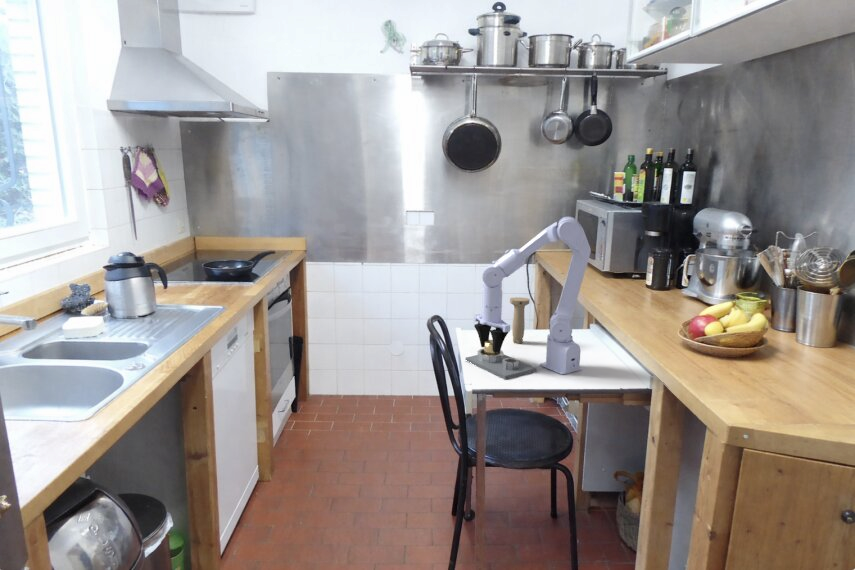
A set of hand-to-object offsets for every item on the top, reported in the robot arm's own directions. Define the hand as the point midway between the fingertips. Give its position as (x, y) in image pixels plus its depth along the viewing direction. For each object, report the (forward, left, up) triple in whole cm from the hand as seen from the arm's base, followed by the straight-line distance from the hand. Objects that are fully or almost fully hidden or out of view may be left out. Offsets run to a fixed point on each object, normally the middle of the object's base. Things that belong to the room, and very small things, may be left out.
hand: (490, 349), depth 171 cm
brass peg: (0, 0, -3) cm, 3 cm away
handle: (+10, -20, -4) cm, 23 cm away
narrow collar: (-9, 0, -4) cm, 10 cm away
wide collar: (0, 0, -4) cm, 4 cm away
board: (-4, 0, -4) cm, 6 cm away
